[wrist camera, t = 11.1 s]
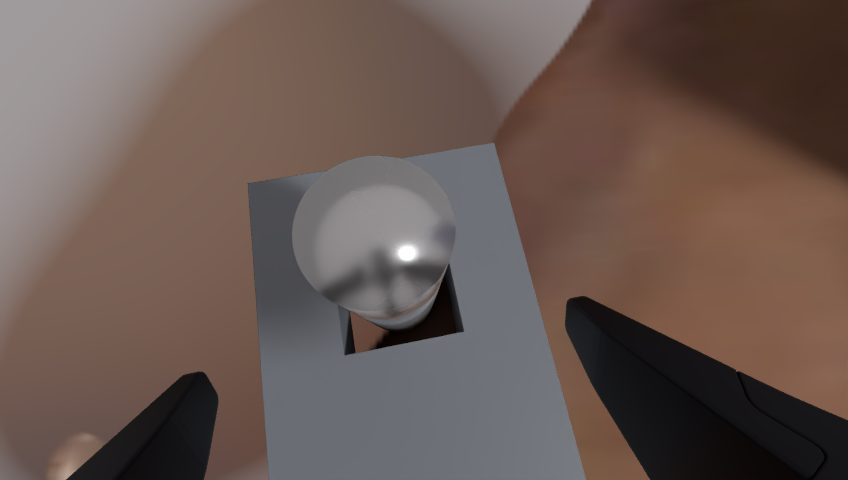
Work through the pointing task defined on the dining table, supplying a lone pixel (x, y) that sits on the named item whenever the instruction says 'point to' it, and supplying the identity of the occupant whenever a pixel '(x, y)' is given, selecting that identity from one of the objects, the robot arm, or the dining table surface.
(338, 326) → the jig
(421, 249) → the tall grey cylinder
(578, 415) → the dining table surface
